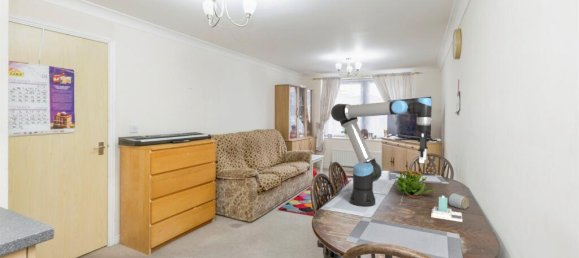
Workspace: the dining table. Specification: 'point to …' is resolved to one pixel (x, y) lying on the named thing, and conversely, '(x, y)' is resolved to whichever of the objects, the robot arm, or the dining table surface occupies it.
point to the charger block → (442, 204)
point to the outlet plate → (446, 214)
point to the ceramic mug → (458, 201)
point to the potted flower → (411, 184)
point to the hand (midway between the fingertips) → (422, 161)
